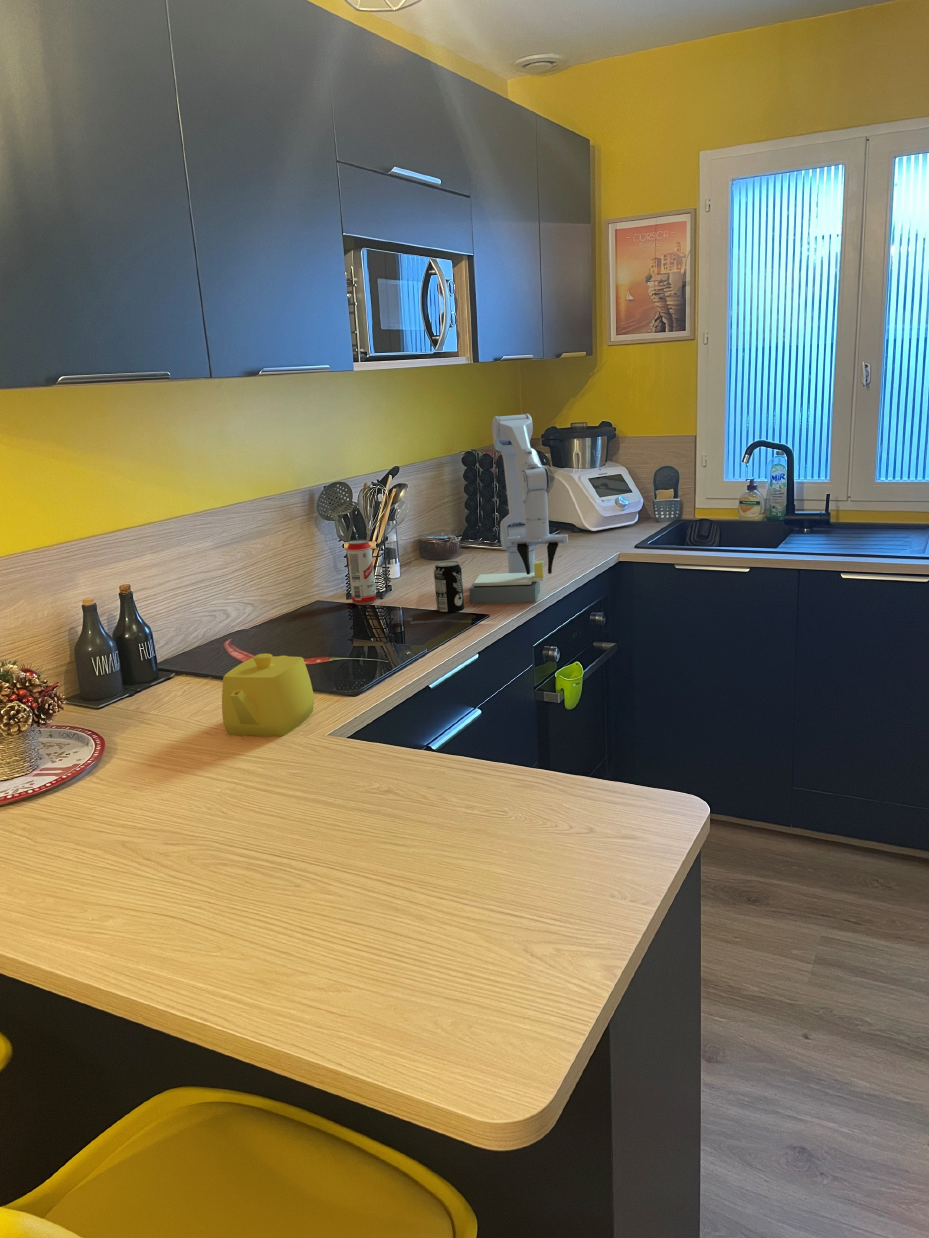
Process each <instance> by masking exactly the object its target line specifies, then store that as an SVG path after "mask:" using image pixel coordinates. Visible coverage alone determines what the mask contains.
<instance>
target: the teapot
mask: <svg viewBox="0 0 929 1238" xmlns="http://www.w3.org/2000/svg"><path fill="white" fill-rule="evenodd" d="M310 677H311V676H310V674H309V671H308V668H307V665H306V663H305V659H304V658H303V657H302V656H289V655H279V656H278V655H277V656H274V655H273V654H271V653H259V654H255V656H253V657H251V658H249V659H247V660H245V661H244V662H241V663H240V664H238V665H237V666H235V667H234V668H232V669H231V670H229V671H228V672H227V673H225V675H224V676H223V678H222V691H221V692H222V693H221V711H222V721H223V726H224V729H225V730H226V733H227V734H228V735H230V736H241V737H277V738H279V737H284V736H286V735H287V734H289V733H290V732H292V731H293V730H295V729H296V728H298V727H299V726H300V725H302V724H303V723H305V721H307V719H308V718H309V717H310V716H311V714H312V713H313V710H314V706H315V697H314V691H313V685H312V681H311V678H310Z"/></svg>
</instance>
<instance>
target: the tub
mask: <svg viewBox="0 0 929 1238" xmlns="http://www.w3.org/2000/svg"><path fill="white" fill-rule="evenodd" d="M475 581H476V579H475V580H474V581H473V582H472V584H471V585H470V586H469V588H468V589H469V603H470V605H485V604H486V605H487V604H488V605H489V604H494V605H495V604H521V603H523V604H524V603H526V604H528V603H530V604H531V603H536V602H537V600H538V598H539V595H540V592H541V581H539V582H532V583H531V584H529V585H527V586H509V587H506V586H508V585H503V587H487V586H474V582H475Z"/></svg>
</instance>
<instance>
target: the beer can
mask: <svg viewBox="0 0 929 1238" xmlns="http://www.w3.org/2000/svg"><path fill="white" fill-rule="evenodd" d="M372 551H373V550H372V546H371V544H370V543H369V540H368V539H355V540H350V541H348V546H347V549H346V554H347V555H346V556H347V564H348V572H349V573H348V574H349V581H350V592H351V601H352V602H353V604H355V605H357V606H367V605H371V604H373V603H375V601H376V600H377V591H376V590H377V589H376V582H375V569H374V561H373V552H372Z"/></svg>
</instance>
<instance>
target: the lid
mask: <svg viewBox="0 0 929 1238" xmlns="http://www.w3.org/2000/svg"><path fill="white" fill-rule="evenodd" d="M544 566H545V565H544V560H535V563H534V573H530V574H528V575H527V573H509V572H505V573H483V574H481V573H480V574H479V575H478V576H477V577H476V578H475V580H476V581H475V580H474V581H475V582H474V581H473V583H474V586H497V585H529V584H531V583H532V582H539V581H540V582H544V579H545V572H544V571H545V570H544V568H545V567H544Z"/></svg>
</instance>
